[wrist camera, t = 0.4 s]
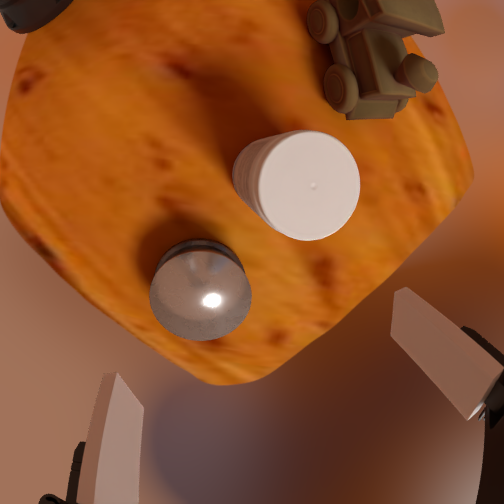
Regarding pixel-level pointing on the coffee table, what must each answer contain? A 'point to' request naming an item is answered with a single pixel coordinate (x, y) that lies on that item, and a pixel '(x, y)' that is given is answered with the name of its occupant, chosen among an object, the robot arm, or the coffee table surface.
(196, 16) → the coffee table surface
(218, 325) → the duct stub
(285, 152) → the supplement tub
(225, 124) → the coffee table surface
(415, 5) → the wooden toy train
